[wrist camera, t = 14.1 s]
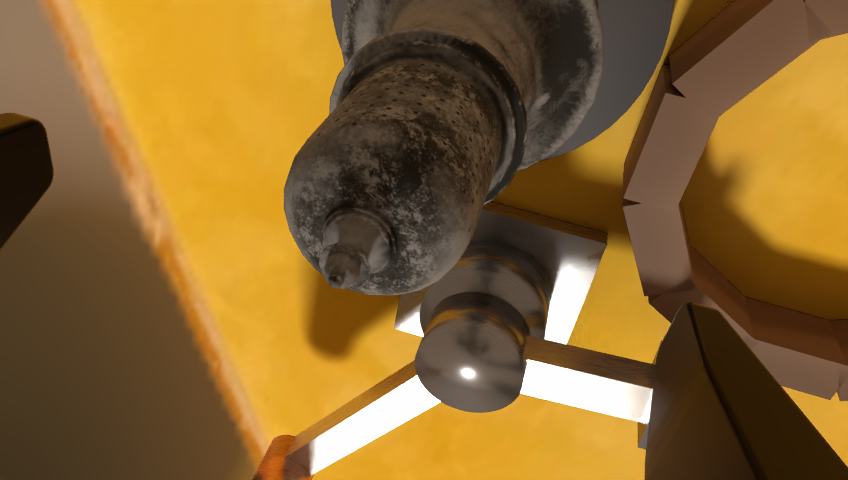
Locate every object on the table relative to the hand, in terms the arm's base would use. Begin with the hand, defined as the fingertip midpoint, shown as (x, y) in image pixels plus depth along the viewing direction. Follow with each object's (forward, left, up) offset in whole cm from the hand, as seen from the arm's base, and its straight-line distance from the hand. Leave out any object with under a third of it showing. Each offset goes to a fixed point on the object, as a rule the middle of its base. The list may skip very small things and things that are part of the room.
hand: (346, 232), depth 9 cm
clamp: (-2, +13, -9) cm, 16 cm away
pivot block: (-2, +9, -12) cm, 15 cm away
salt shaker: (0, 0, -11) cm, 11 cm away
